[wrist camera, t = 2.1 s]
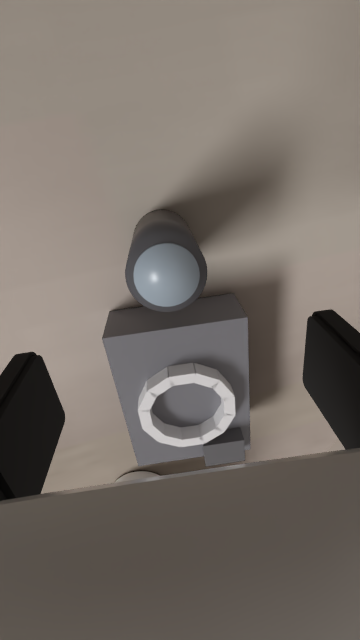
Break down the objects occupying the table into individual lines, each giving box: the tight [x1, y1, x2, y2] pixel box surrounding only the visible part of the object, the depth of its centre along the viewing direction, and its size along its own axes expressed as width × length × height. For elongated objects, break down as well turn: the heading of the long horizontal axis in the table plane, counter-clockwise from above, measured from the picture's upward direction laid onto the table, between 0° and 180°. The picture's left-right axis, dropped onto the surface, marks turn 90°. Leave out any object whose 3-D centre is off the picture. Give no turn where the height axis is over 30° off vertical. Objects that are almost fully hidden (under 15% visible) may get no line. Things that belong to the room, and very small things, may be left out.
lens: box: [125, 210, 207, 312], centre depth 23 cm, size 5×5×9 cm
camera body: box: [102, 293, 250, 466], centre depth 31 cm, size 16×12×7 cm
